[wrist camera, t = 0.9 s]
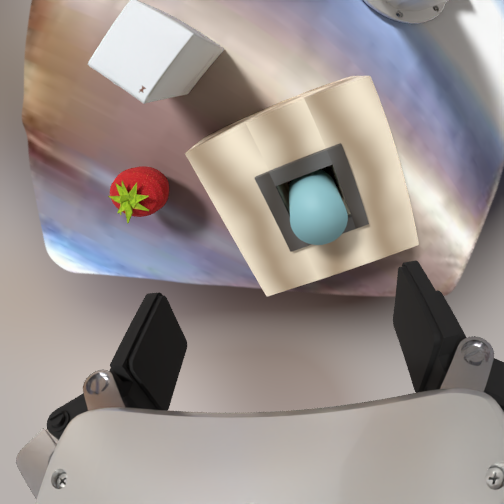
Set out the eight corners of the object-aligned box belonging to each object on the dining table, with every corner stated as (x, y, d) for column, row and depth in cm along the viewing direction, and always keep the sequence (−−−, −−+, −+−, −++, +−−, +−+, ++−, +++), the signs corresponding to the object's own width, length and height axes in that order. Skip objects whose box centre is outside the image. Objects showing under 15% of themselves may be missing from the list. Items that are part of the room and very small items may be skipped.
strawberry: (184, 197, 39) (157, 233, 31) (134, 197, 40) (99, 232, 32) (180, 154, 36) (149, 180, 28) (127, 157, 37) (87, 183, 29)
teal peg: (326, 161, 30) (336, 183, 24) (342, 202, 32) (354, 234, 26) (281, 178, 31) (280, 205, 25) (299, 218, 33) (302, 252, 28)
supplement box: (226, 49, 29) (197, 34, 18) (187, 96, 32) (142, 107, 22) (179, 17, 27) (131, -5, 16) (143, 64, 30) (84, 65, 20)
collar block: (351, 76, 29) (372, 75, 22) (397, 214, 38) (420, 247, 30) (204, 137, 35) (183, 154, 28) (269, 259, 43) (266, 299, 36)
